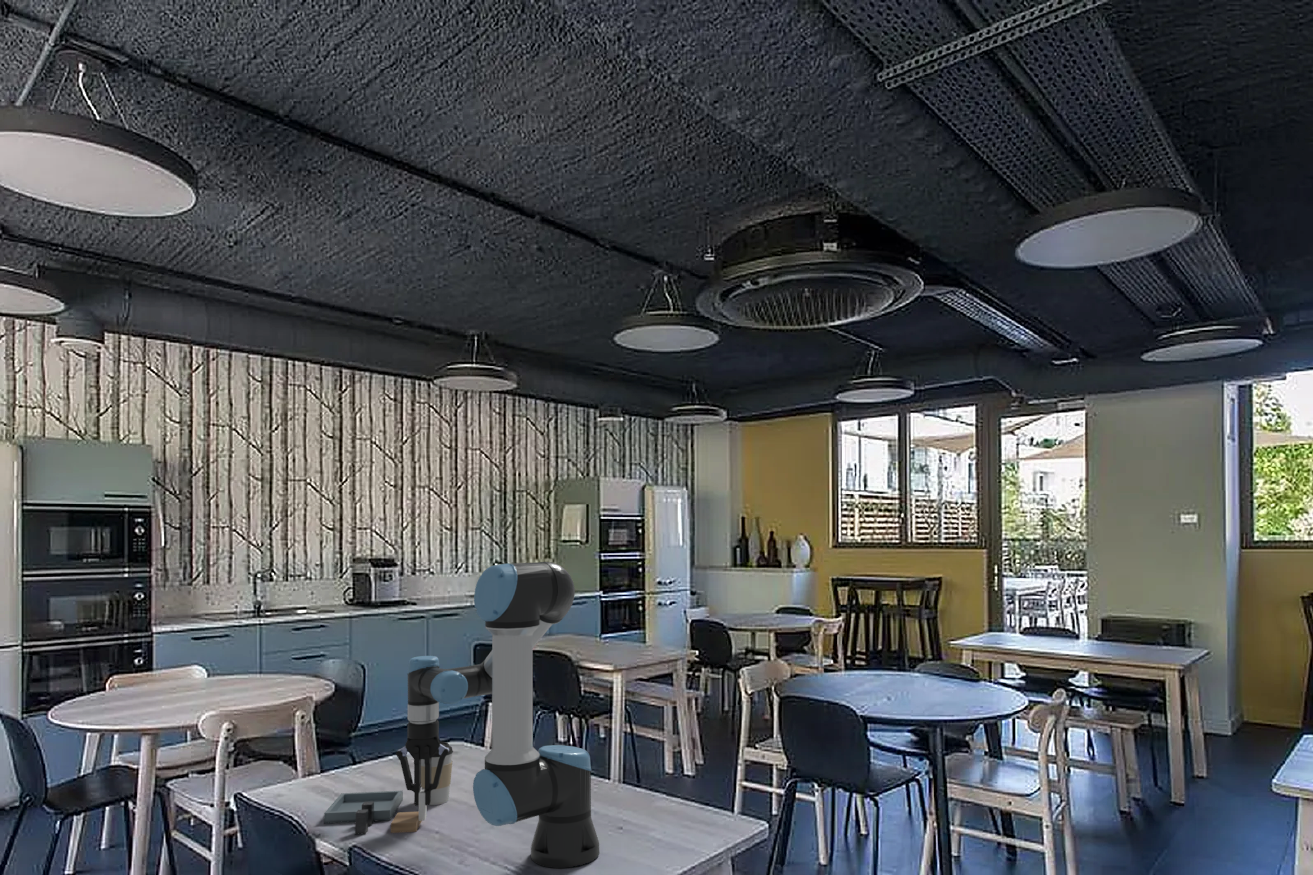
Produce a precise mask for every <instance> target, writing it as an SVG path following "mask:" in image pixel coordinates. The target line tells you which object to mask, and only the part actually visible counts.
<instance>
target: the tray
mask: <svg viewBox="0 0 1313 875" xmlns="http://www.w3.org/2000/svg"><path fill="white" fill-rule="evenodd" d="M403 798H404V791H403V790H389V791H387V790H386V791H384V790H383V791H363V792H362V791H361V792H342V793H340V795H338V797H337V798H336V799H335V800H334V801H333V802H332V803H331V805H330V806H329V807H328V808H327V809H326V810H325V812H324V813H323V824H326V825H327V824H342V823H344V824H345V823H347V824H348V823H355V820H356V812H357V811H358V810H362V804H363V803H364V802H374V822H381V821H382V822H384V821H387V822H388V821H391V820H392V818H393V816H394V815H395V814H396V813H397V811H398V809H399V807H400V805H401V804H402V802H403V800H404V799H403Z"/></svg>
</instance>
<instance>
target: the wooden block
mask: <svg viewBox="0 0 1313 875" xmlns="http://www.w3.org/2000/svg"><path fill="white" fill-rule="evenodd" d="M396 813H397V814H395V817H394V818H393V819H392V821H391V822H390V833H391V834H396V833H397V834H398V833H417V831H418V830H419V828H420V826H421V823H423V821H419V811H402V812H396Z"/></svg>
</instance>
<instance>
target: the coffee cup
mask: <svg viewBox="0 0 1313 875" xmlns="http://www.w3.org/2000/svg"><path fill="white" fill-rule="evenodd" d="M441 745H443V746H445V747H449V748H450V750H449V752H448V754H447V755H446V757H445V761H444V765H443V769H442V773H441V777H440V781H439V785H438V787H437V788H436V789H434V790H431V803H430V805H429V806H439V805H443V804H446V803H447V802H449V801H450V800H449V799H450V789H451V782H452V781H451V780H452V769H453V753H454V750H453V747H452V746H451V745H450V743H449V742H446V741H441ZM440 756H441V755H439V749H438V750H437V751H436V752H435V754H434V755H433V757H432V773H431V784H432V783H433V781H434V777H435V773H436V769H437V765H438V761H439V758H440ZM421 790H425V760H424V759H421Z"/></svg>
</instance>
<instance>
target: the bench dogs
mask: <svg viewBox="0 0 1313 875" xmlns="http://www.w3.org/2000/svg"><path fill="white" fill-rule="evenodd" d="M374 822H375V821H374V802H364V803H363V804H362V810H358V811H357V812H356V820H355V822H354V823H355V825H354V826H355V828H354V831H355V834H354V835H356V836H357V835H358V836H359V835H366V834H368V832H369V826H373V824H374Z"/></svg>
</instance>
